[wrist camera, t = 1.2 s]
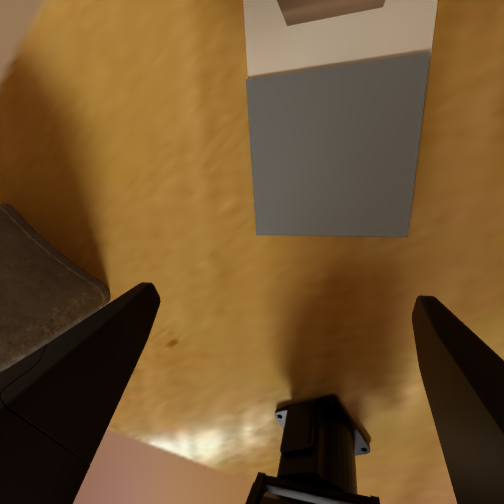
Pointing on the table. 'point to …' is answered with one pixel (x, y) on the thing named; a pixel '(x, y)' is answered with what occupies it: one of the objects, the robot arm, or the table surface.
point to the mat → (337, 147)
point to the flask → (38, 290)
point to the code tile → (334, 36)
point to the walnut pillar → (322, 9)
